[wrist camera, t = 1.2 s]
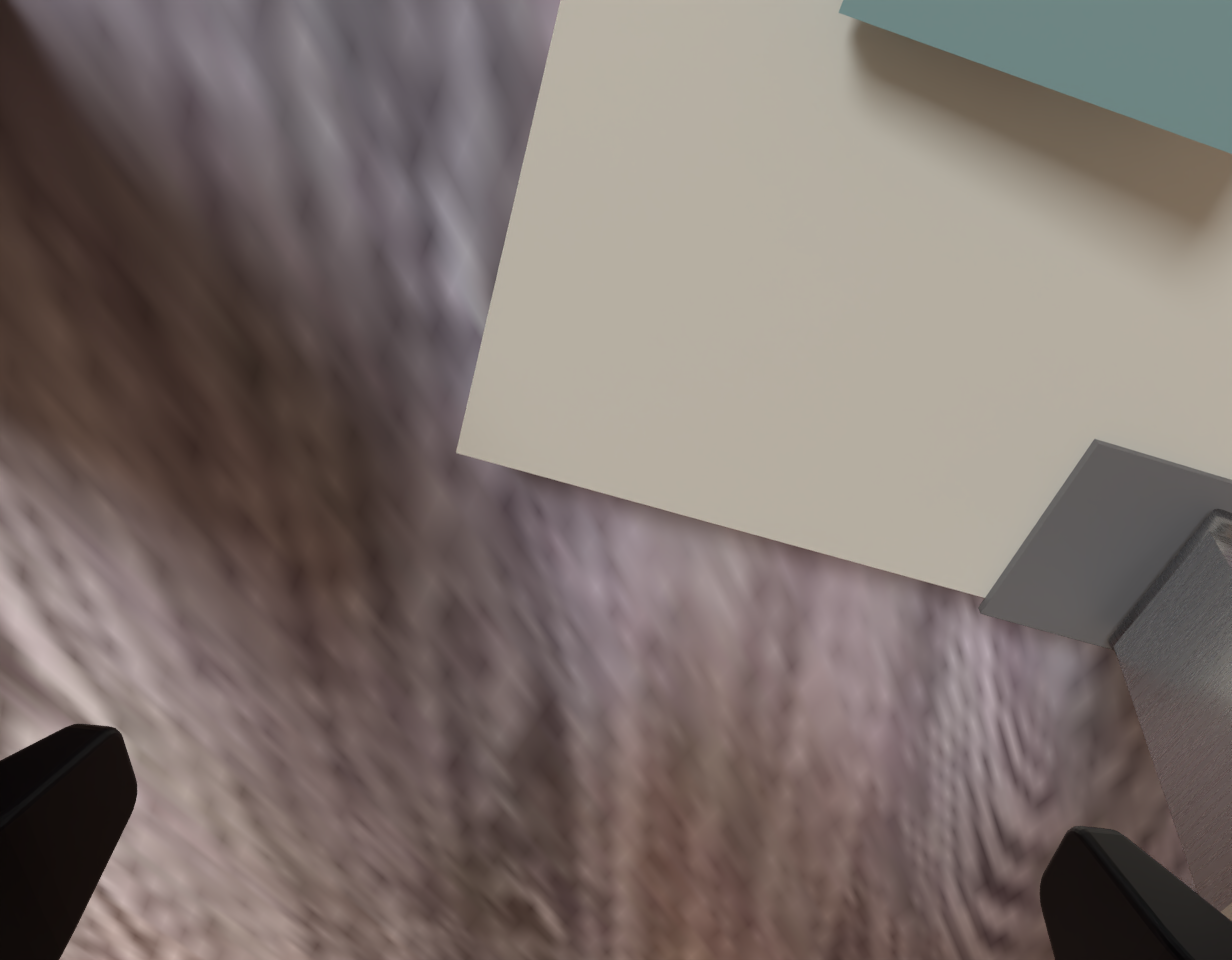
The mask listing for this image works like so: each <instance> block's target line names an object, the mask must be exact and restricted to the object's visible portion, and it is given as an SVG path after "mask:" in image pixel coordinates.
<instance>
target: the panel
mask: <svg viewBox="0 0 1232 960" xmlns="http://www.w3.org/2000/svg"><path fill="white" fill-rule="evenodd" d="M842 2H843V0H561V1H560V6H559V10H558V14H557V19H556V23H555V27H554V31H553V36H552V40H551V44H550V49H549V53H548V57H547V62H546V66H545V70H544V75H543V79H542V83H541V88H540V92H539V96H538V101H537V105H536V109H535V114H534V118H533V122H532V127H531V131H530V135H529V140H528V144H527V148H526V153H525V157H524V161H523V165H522V170H521V174H520V178H519V183H518V187H517V191H516V196H515V200H514V204H513V209H512V213H511V217H510V222H509V226H508V230H507V235H506V239H505V243H504V248H503V252H502V256H501V261H500V265H499V269H498V274H497V278H496V282H495V286H494V291H493V295H492V299H491V304H490V308H489V312H488V317H487V321H486V325H485V330H484V334H483V338H482V343H481V347H480V351H479V356H478V360H477V364H476V369H475V373H474V377H473V382H472V386H471V390H470V395H469V399H468V403H467V407H466V412H465V416H464V420H463V425H462V429H461V433H460V438H459V442H458V446H457V451H456V453H458V454H462V455H466V456H469V457H473V458H477V459H480V460H484V461H488V462H491V463H495V464H498V465H502V466H506V467H509V468H513V469H517V470H520V471H524V472H528V473H531V474H535V475H539V476H542V477H546V478H549V479H553V480H557V481H560V482H564V483H568V484H571V485H575V486H579V487H582V488H586V489H590V490H593V491H597V492H600V493H604V494H608V495H611V496H615V497H619V498H622V499H626V500H630V501H633V502H637V503H641V504H644V505H648V506H651V507H655V508H659V509H662V510H666V511H670V512H673V513H677V514H681V515H684V516H688V517H692V518H695V519H699V520H702V521H706V522H710V523H713V524H717V525H721V526H724V527H728V528H732V529H735V530H739V531H743V532H746V533H750V534H754V535H757V536H761V537H764V538H768V539H772V540H775V541H779V542H783V543H786V544H790V545H794V546H797V547H801V548H805V549H808V550H812V551H815V552H819V553H823V554H826V555H830V556H834V557H837V558H841V559H845V560H848V561H852V562H856V563H859V564H863V565H866V566H870V567H874V568H877V569H881V570H885V571H888V572H892V573H896V574H899V575H903V576H907V577H910V578H914V579H917V580H921V581H925V582H928V583H932V584H936V585H939V586H943V587H947V588H950V589H954V590H958V591H961V592H965V593H968V594H972V595H976V596H979V597H983V598H985V599H984V600H983V602H982V603H981V604H980V606H979V607H978V608H979V611H980V613H981V614H984V615H987V616H991V617H995V618H998V619H1002V620H1006V621H1009V622H1013V623H1017V624H1020V625H1024V626H1028V627H1031V628H1035V629H1039V630H1042V631H1046V632H1050V633H1053V634H1057V635H1061V636H1064V637H1068V638H1072V639H1075V640H1079V641H1083V642H1086V643H1090V644H1094V645H1097V646H1101V647H1105V648H1109V649H1112V648H1111V646H1110V645H1109V642H1108V639H1109V638H1110V636H1111V635H1112V634H1113V633H1114V632H1115V630H1116V629H1117V628H1118V627H1119V625H1120V624H1121V623H1122V622H1123V621H1124V619H1125V618H1126V617H1127V616H1128V614H1129V613H1130V612H1131V611H1132V609H1133V608H1134V607H1135V606H1136V605H1137V603H1138V602H1139V601H1140V600H1141V598H1142V597H1143V596H1144V595H1145V594H1146V592H1147V591H1148V590H1149V589H1150V587H1151V586H1152V585H1153V584H1154V582H1155V581H1156V580H1157V579H1158V578H1159V576H1160V575H1161V574H1162V573H1163V571H1164V570H1165V569H1166V568H1167V567H1168V565H1169V564H1170V563H1171V562H1172V560H1173V559H1174V558H1175V557H1176V556H1177V554H1178V553H1179V552H1180V551H1181V549H1182V548H1183V547H1184V546H1185V544H1186V543H1187V542H1188V541H1189V540H1190V538H1191V537H1192V536H1193V535H1194V533H1195V532H1196V531H1197V530H1198V529H1199V527H1200V526H1201V525H1202V524H1203V522H1204V521H1205V520H1206V519H1207V517H1208V516H1209V515H1210V514H1211V513H1212V511H1213V510H1214V509H1222V510H1225V511H1228V512H1230V513H1232V154H1231V153H1228V152H1225V151H1222V150H1219V149H1217V148H1214V147H1211V146H1208V145H1206V144H1203V143H1200V142H1197V141H1194V140H1192V139H1189V138H1186V137H1183V136H1180V135H1178V134H1175V133H1172V132H1169V131H1167V130H1164V129H1161V128H1158V127H1155V126H1153V125H1150V124H1147V123H1144V122H1141V121H1139V120H1136V119H1133V118H1130V117H1128V116H1125V115H1122V114H1119V113H1116V112H1114V111H1111V110H1108V109H1105V108H1102V107H1100V106H1097V105H1094V104H1091V103H1089V102H1086V101H1083V100H1080V99H1077V98H1075V97H1072V96H1069V95H1066V94H1063V93H1061V92H1058V91H1055V90H1052V89H1050V88H1047V87H1044V86H1041V85H1038V84H1036V83H1033V82H1030V81H1027V80H1024V79H1022V78H1019V77H1016V76H1013V75H1010V74H1008V73H1005V72H1002V71H999V70H997V69H994V68H991V67H988V66H985V65H983V64H980V63H977V62H974V61H971V60H969V59H966V58H963V57H960V56H958V55H955V54H952V53H949V52H946V51H944V50H941V49H938V48H935V47H932V46H930V45H927V44H924V43H921V42H919V41H916V40H913V39H910V38H907V37H905V36H902V35H899V34H896V33H893V32H891V31H888V30H885V29H882V28H880V27H877V26H874V25H871V24H868V23H866V22H863V21H860V20H857V19H854V18H852V17H849V16H846V15H843V14H841V13H838V12H839V10H840V7H841V5H842ZM1112 650H1113V649H1112Z"/></svg>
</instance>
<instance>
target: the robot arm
mask: <svg viewBox="0 0 1232 960" xmlns="http://www.w3.org/2000/svg"><path fill="white" fill-rule="evenodd" d="M136 797H137V782H136V778H135V774H134V771H133V768H132V765H131V762H130V759H129V755H128V752H127V749H126V746H125V743H124V740H123V737H122V735H121V733H120V732H119V731H118V730H117V729H116V728H113V727H109V726H99V725H90V724H73V725H71V726H68V727H65V728H63V729H61V730H59V731H57V732H55V733H53V734H51V735H49V736H48V737H46V738H44V739H42V740H40V741H38V742H36V743H34V744H32V745H30V746H28V747H26V748H24V749H22V750H20V751H18V752H16V753H14V754H12V755H10V756H8V757H6V758H5V759H3V760H1V761H0V960H59V959H60V957H61V955H62V954H63V952H64V950H65V948H66V946H67V944H68V942H69V940H70V938H71V936H72V934H73V933H74V931H75V929H76V927H77V925H78V923H79V920H80V918H81V916H82V914H83V912H84V910H85V908H86V906H87V904H88V902H89V900H90V898H91V896H92V894H93V892H94V890H95V888H96V886H97V884H98V882H99V879H100V877H101V875H102V873H103V871H104V869H105V867H106V865H107V863H108V861H109V859H110V857H111V855H112V853H113V851H114V849H115V847H116V845H117V843H118V840H119V838H120V836H121V834H122V832H123V830H124V828H125V826H126V824H127V822H128V820H129V818H130V816H131V814H132V811H133V809H134V805H135V802H136ZM1040 902H1041V907H1042V912H1043V916H1044V919H1045V923H1046V927H1047V931H1048V935H1049V938H1050V942H1051V946H1052V950H1053V954H1054V957H1055V960H1232V921H1231V920H1230V919H1229V918H1227V917H1226V916H1225V915H1224V914H1222V913H1221V912H1220V911H1218V910H1217V909H1216V908H1215V907H1213V906H1212V905H1211V904H1210V903H1208V902H1207V901H1206V900H1205V899H1203V898H1202V897H1201V896H1200V895H1198V894H1197V893H1196V892H1195V891H1193V890H1192V889H1191V888H1190V887H1188V886H1187V885H1186V884H1184V883H1183V882H1182V881H1181V880H1179V879H1178V878H1177V877H1176V876H1174V875H1173V874H1172V873H1171V872H1169V871H1168V870H1167V869H1166V868H1164V867H1163V866H1162V865H1161V864H1159V863H1158V862H1157V861H1156V860H1154V859H1153V858H1152V857H1150V856H1149V855H1148V854H1147V853H1145V852H1144V851H1143V850H1142V849H1140V848H1139V847H1138V846H1137V845H1135V844H1134V843H1133V842H1132V841H1130V840H1129V839H1128V838H1127V837H1125V836H1124V835H1122V834H1120V833H1119V832H1117V831H1115V830H1111V829H1104V828H1094V827H1085V826H1075V827H1073V828H1071V829H1070V830H1068V831H1067V833H1066V834H1065V836H1064V838H1063V840H1062V841H1061V843H1060V845H1059V847H1058V848H1057V850H1056V852H1055V854H1054V856H1053V857H1052V859H1051V861H1050V863H1049V864H1048V866H1047V868H1046V870H1045V872H1044V873H1043V876H1042V879H1041V884H1040Z"/></svg>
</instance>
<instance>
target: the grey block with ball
mask: <svg viewBox="0 0 1232 960" xmlns="http://www.w3.org/2000/svg"><path fill="white" fill-rule="evenodd" d="M1108 642H1109V645H1110V646H1111V648H1112V649H1113V650H1114V651H1115V652H1116V655H1117V658H1118V661H1119V664H1120V667H1121V669H1122V672H1123V675H1124V678H1125V681H1126V684H1127V687H1128V690H1129V693H1130V696H1131V699H1132V702H1133V705H1134V707H1135V710H1136V713H1137V716H1138V719H1139V722H1140V725H1141V728H1142V731H1143V734H1144V737H1145V740H1146V743H1147V746H1148V748H1149V751H1150V754H1151V757H1152V760H1153V763H1154V766H1155V769H1156V772H1157V775H1158V778H1159V781H1160V784H1161V786H1162V789H1163V792H1164V795H1165V798H1166V801H1167V804H1168V807H1169V810H1170V813H1171V816H1172V819H1173V822H1174V825H1175V827H1176V830H1177V833H1178V836H1179V839H1180V842H1181V845H1182V848H1183V851H1184V854H1185V857H1186V860H1187V863H1188V865H1189V868H1190V871H1191V874H1192V877H1193V880H1194V883H1195V886H1196V889H1197V892H1198V895H1200V896H1201V897H1202V898H1203V899H1205V900H1206V901H1207V902H1208V903H1210V904H1211V905H1212V906H1213V907H1215V908H1216V909H1217V910H1218V911H1220V912H1221V913H1222V914H1224V915H1225V916H1226V917H1227V918H1229V919H1230V920H1231V921H1232V513H1230V512H1228V511H1225V510H1222V509H1214V510H1213V511H1212V513H1211V514H1210V515H1209V516H1208V517H1207V519H1206V520H1205V521H1204V522H1203V524H1202V525H1201V526H1200V527H1199V529H1198V530H1197V531H1196V532H1195V533H1194V535H1193V536H1192V537H1191V538H1190V540H1189V541H1188V542H1187V543H1186V544H1185V546H1184V547H1183V548H1182V549H1181V551H1180V552H1179V553H1178V554H1177V556H1176V557H1175V558H1174V559H1173V560H1172V562H1171V563H1170V564H1169V565H1168V567H1167V568H1166V569H1165V570H1164V571H1163V573H1162V574H1161V575H1160V576H1159V578H1158V579H1157V580H1156V581H1155V582H1154V584H1153V585H1152V586H1151V587H1150V589H1149V590H1148V591H1147V592H1146V594H1145V595H1144V596H1143V597H1142V598H1141V600H1140V601H1139V602H1138V603H1137V605H1136V606H1135V607H1134V608H1133V609H1132V611H1131V612H1130V613H1129V614H1128V616H1127V617H1126V618H1125V619H1124V621H1123V622H1122V623H1121V624H1120V625H1119V627H1118V628H1117V629H1116V630H1115V632H1114V633H1113V634H1112V635H1111V636H1110V638H1109V639H1108Z"/></svg>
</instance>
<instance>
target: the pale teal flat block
mask: <svg viewBox="0 0 1232 960" xmlns="http://www.w3.org/2000/svg"><path fill="white" fill-rule="evenodd" d="M838 13H841V14H843V15H846V16H849V17H852V18H854V19H857V20H860V21H863V22H866V23H868V24H871V25H874V26H877V27H880V28H882V29H885V30H888V31H891V32H893V33H896V34H899V35H902V36H905V37H907V38H910V39H913V40H916V41H919V42H921V43H924V44H927V45H930V46H932V47H935V48H938V49H941V50H944V51H946V52H949V53H952V54H955V55H958V56H960V57H963V58H966V59H969V60H971V61H974V62H977V63H980V64H983V65H985V66H988V67H991V68H994V69H997V70H999V71H1002V72H1005V73H1008V74H1010V75H1013V76H1016V77H1019V78H1022V79H1024V80H1027V81H1030V82H1033V83H1036V84H1038V85H1041V86H1044V87H1047V88H1050V89H1052V90H1055V91H1058V92H1061V93H1063V94H1066V95H1069V96H1072V97H1075V98H1077V99H1080V100H1083V101H1086V102H1089V103H1091V104H1094V105H1097V106H1100V107H1102V108H1105V109H1108V110H1111V111H1114V112H1116V113H1119V114H1122V115H1125V116H1128V117H1130V118H1133V119H1136V120H1139V121H1141V122H1144V123H1147V124H1150V125H1153V126H1155V127H1158V128H1161V129H1164V130H1167V131H1169V132H1172V133H1175V134H1178V135H1180V136H1183V137H1186V138H1189V139H1192V140H1194V141H1197V142H1200V143H1203V144H1206V145H1208V146H1211V147H1214V148H1217V149H1219V150H1222V151H1225V152H1228V153H1231V154H1232V0H843V2H842V5H841V7H840V10H839V12H838Z"/></svg>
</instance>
